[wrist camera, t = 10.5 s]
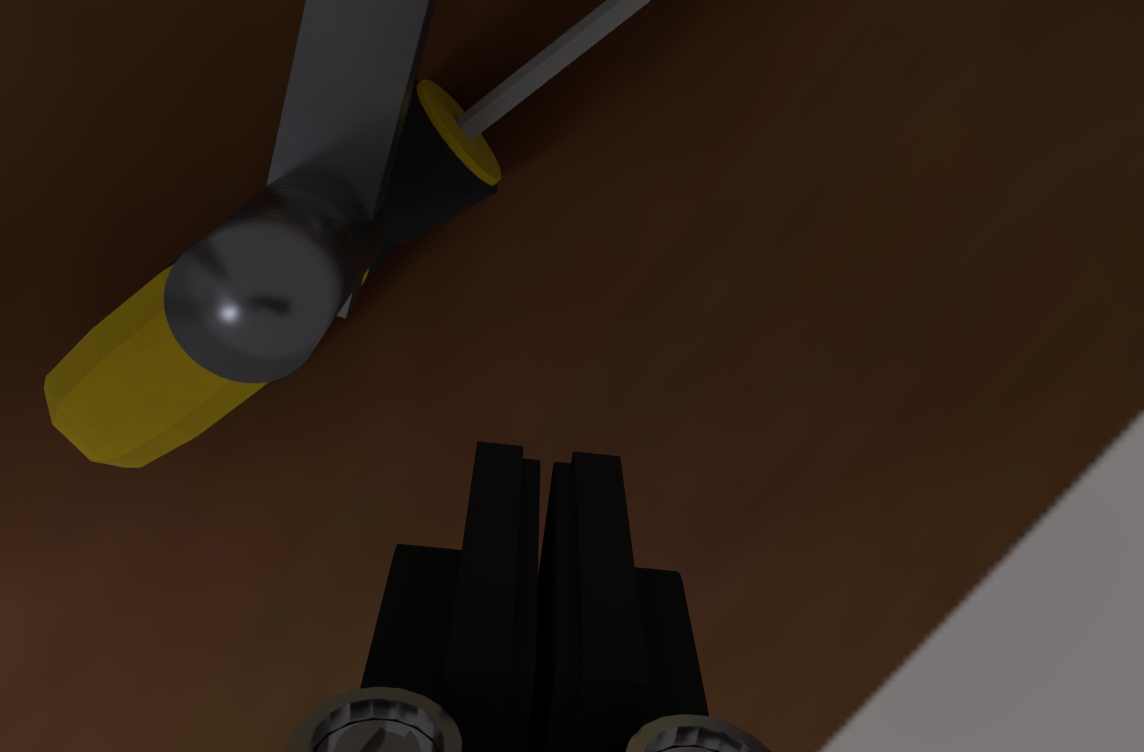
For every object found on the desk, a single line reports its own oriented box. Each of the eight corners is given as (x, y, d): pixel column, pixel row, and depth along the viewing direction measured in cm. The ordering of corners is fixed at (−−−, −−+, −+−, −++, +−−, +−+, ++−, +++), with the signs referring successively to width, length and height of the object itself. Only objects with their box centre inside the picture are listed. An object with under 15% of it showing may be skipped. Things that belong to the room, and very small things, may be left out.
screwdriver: (110, 506, 25) (1345, -420, 17) (1, 403, 24) (1264, -632, 16) (164, 440, 28) (1229, -368, 20) (69, 347, 27) (1155, -543, 19)
